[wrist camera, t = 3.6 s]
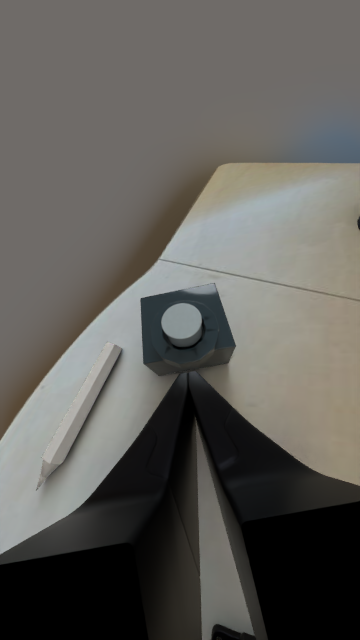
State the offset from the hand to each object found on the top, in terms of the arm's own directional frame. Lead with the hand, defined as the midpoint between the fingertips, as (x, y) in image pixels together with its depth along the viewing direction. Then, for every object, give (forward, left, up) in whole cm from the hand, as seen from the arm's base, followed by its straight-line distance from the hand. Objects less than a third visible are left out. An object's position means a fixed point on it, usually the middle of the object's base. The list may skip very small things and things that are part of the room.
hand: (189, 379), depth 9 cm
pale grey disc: (+5, +2, -5) cm, 8 cm away
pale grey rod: (-3, +14, -13) cm, 19 cm away
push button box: (+7, +2, -13) cm, 15 cm away
